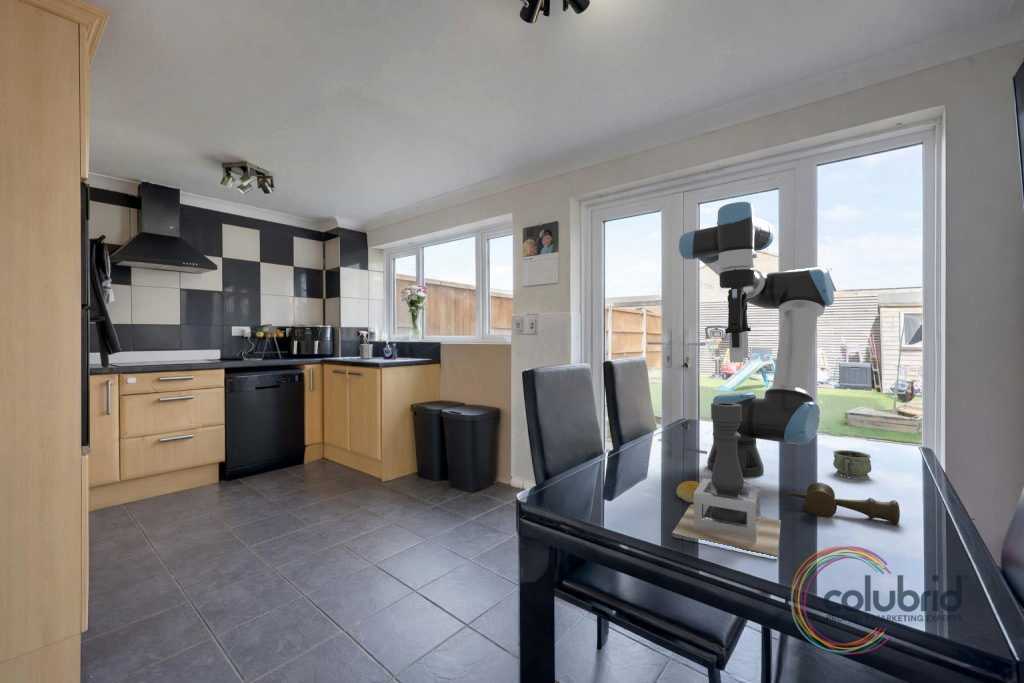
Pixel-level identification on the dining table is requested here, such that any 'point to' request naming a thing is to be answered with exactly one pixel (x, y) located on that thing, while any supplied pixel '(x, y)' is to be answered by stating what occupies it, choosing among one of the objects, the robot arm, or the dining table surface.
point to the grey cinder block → (721, 527)
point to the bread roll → (688, 490)
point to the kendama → (846, 504)
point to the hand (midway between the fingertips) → (739, 360)
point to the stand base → (764, 544)
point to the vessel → (852, 464)
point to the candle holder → (727, 459)
